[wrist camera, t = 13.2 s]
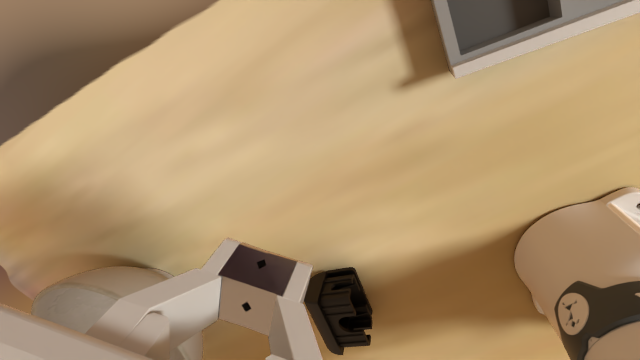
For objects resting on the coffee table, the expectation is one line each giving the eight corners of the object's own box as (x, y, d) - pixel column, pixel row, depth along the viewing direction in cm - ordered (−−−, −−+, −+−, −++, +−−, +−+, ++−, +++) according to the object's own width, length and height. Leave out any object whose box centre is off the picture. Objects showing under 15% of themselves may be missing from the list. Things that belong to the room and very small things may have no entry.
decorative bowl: (178, 362, 69) (137, 425, 58) (73, 274, 63) (7, 327, 53) (262, 316, 57) (230, 386, 46) (141, 204, 51) (73, 254, 41)
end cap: (308, 270, 50) (295, 305, 44) (353, 263, 48) (346, 299, 42) (331, 319, 53) (322, 357, 48) (374, 314, 51) (370, 354, 45)
